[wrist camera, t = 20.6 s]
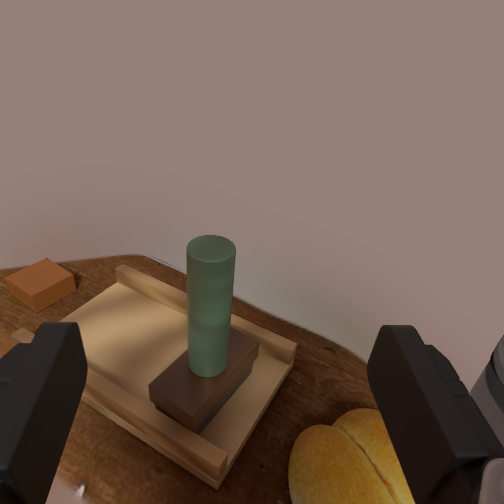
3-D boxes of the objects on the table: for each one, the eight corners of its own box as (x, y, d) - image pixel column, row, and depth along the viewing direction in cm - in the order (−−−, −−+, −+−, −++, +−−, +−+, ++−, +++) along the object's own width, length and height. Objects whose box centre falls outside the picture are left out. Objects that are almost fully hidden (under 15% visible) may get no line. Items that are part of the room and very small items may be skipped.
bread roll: (264, 456, 25) (271, 419, 22) (375, 412, 28) (391, 376, 26) (337, 616, 18) (356, 587, 16) (468, 536, 22) (499, 502, 20)
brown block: (77, 290, 36) (73, 273, 35) (36, 313, 33) (31, 295, 32) (51, 274, 38) (46, 257, 37) (10, 294, 35) (4, 277, 34)
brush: (256, 371, 29) (275, 232, 22) (192, 447, 24) (192, 295, 17) (218, 349, 30) (224, 212, 24) (150, 416, 25) (135, 264, 18)
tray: (292, 365, 31) (297, 343, 29) (217, 491, 23) (218, 468, 21) (125, 285, 37) (122, 263, 36) (19, 359, 29) (10, 334, 28)
